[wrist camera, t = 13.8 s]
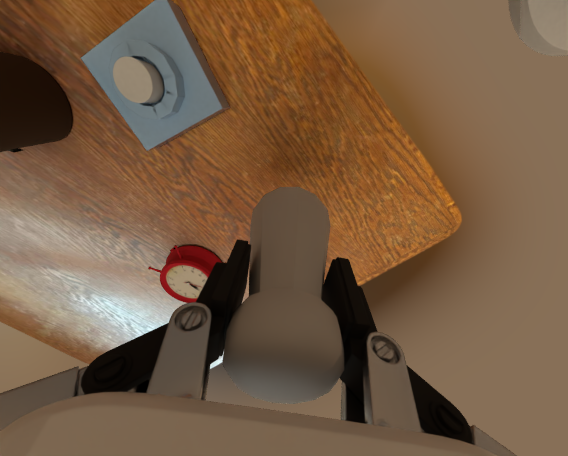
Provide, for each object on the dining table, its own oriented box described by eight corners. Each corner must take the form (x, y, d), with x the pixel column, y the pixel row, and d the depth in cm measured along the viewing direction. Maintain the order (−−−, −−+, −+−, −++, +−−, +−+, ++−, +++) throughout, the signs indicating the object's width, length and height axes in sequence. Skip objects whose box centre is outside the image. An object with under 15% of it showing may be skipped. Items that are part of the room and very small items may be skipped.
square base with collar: (179, 7, 23) (151, -17, 18) (230, 107, 27) (217, 108, 22) (104, 63, 25) (63, 54, 21) (161, 146, 29) (137, 153, 25)
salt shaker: (315, 246, 20) (339, 435, 9) (252, 234, 20) (191, 412, 8) (335, 185, 17) (411, 347, 6) (262, 170, 17) (188, 308, 5)
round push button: (147, 52, 21) (133, 47, 19) (171, 93, 22) (160, 91, 21) (119, 72, 22) (104, 69, 20) (144, 109, 23) (132, 110, 21)
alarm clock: (176, 241, 32) (240, 314, 35) (199, 227, 38) (253, 290, 40) (138, 273, 36) (198, 337, 38) (164, 256, 42) (216, 313, 44)
